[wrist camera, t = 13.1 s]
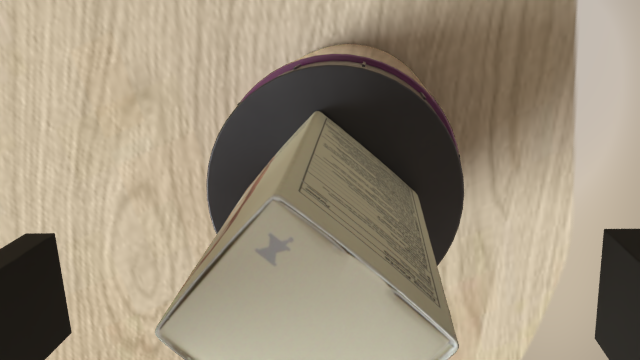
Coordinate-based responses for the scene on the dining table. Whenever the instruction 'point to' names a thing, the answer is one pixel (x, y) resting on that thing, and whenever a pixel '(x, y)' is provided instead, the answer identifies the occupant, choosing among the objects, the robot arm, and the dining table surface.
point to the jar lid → (356, 120)
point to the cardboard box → (316, 265)
